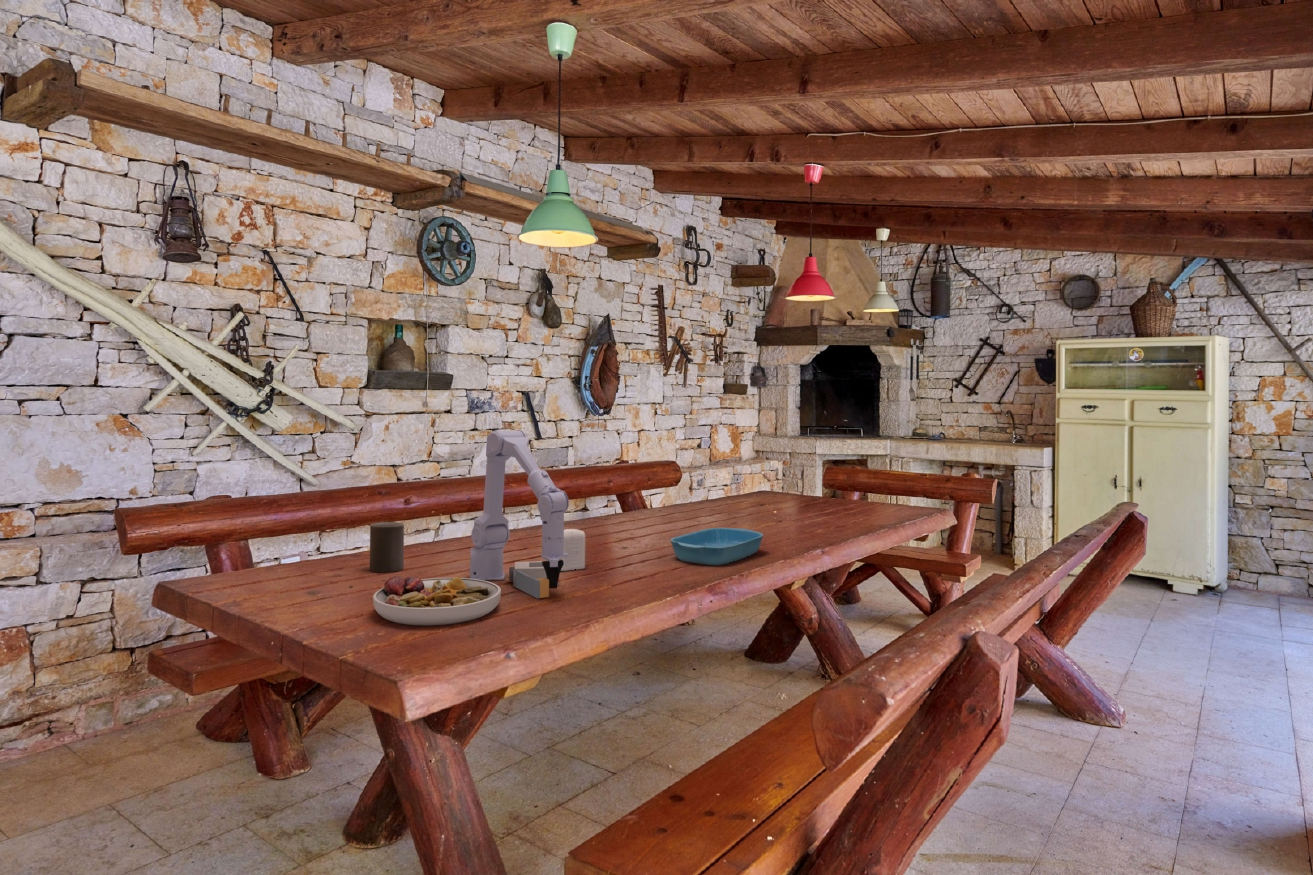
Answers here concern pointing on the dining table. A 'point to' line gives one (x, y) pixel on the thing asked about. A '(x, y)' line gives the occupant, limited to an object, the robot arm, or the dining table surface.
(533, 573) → the camera housing
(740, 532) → the casserole dish
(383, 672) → the dining table surface
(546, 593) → the grey and orange bar
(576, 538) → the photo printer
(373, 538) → the pillar candle
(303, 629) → the dining table surface
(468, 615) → the bowl
